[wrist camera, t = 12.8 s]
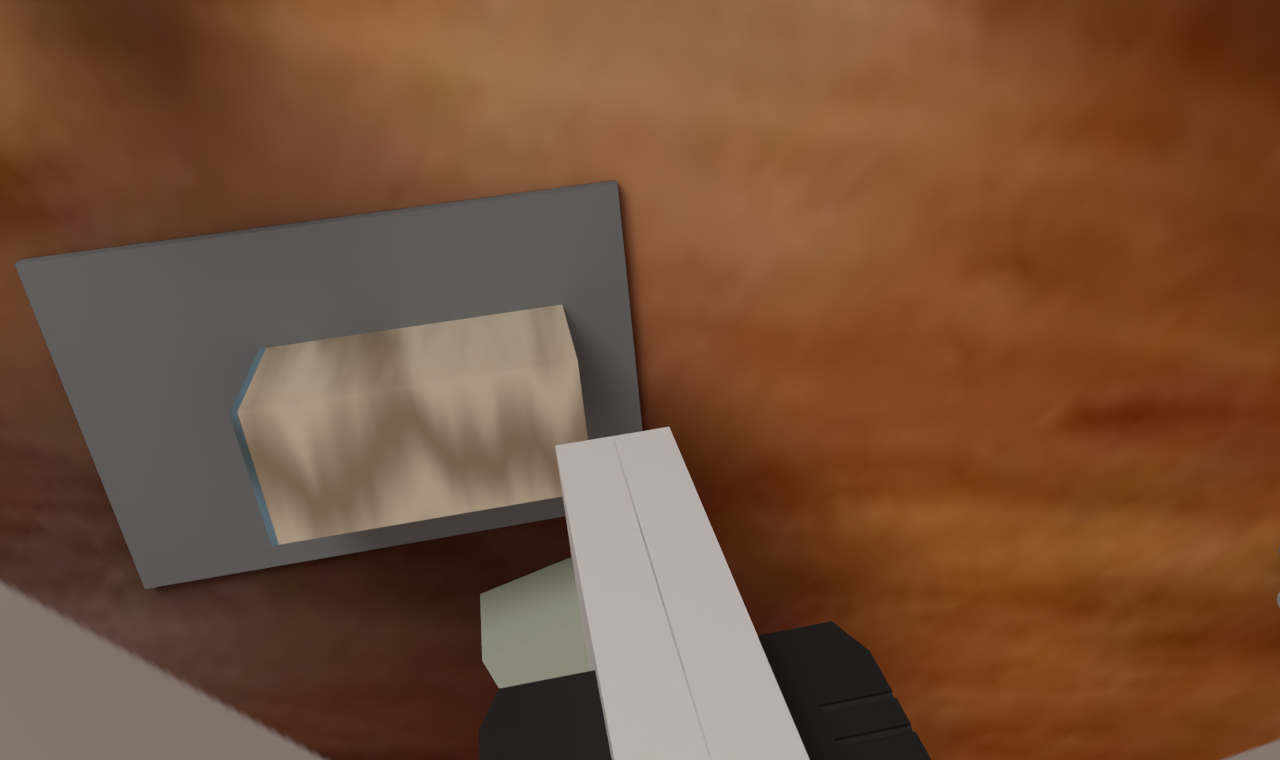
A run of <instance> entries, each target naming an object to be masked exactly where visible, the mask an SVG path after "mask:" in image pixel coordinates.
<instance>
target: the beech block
mask: <svg viewBox="0 0 1280 760" xmlns="http://www.w3.org/2000/svg"><path fill="white" fill-rule="evenodd" d="M229 415H230V418H231V421H232V425H233V428H234V431H235V434H236V437H237V440H238V443H239V447H240V450H241V453H242V456H243V459H244V462H245V465H246V468H247V472H248V475H249V478H250V481H251V484H252V487H253V490H254V494H255V497H256V500H257V503H258V506H259V509H260V512H261V515H262V519H263V522H264V525H265V528H266V531H267V534H268V537H269V541H270V544H271V546H275V545H281V544H286V543H292V542H298V541H304V540H310V539H316V538H322V537H328V536H333V535H339V534H345V533H351V532H357V531H363V530H369V529H374V528H380V527H386V526H392V525H398V524H404V523H410V522H416V521H421V520H427V519H433V518H439V517H445V516H451V515H457V514H463V513H468V512H474V511H480V510H486V509H492V508H498V507H504V506H510V505H515V504H521V503H527V502H533V501H539V500H545V499H551V498H557V497H562V496H563V495H562V488H561V482H560V475H559V468H558V462H557V455H556V448H555V446H556V445H562V444H568V443H574V442H580V441H586V440H588V436H587V428H586V421H585V413H584V405H583V398H582V390H581V382H580V375H579V367H578V360H577V356H576V352H575V349H574V345H573V342H572V338H571V334H570V331H569V327H568V324H567V320H566V316H565V313H564V309H563V305H555V306H548V307H541V308H534V309H528V310H521V311H514V312H507V313H500V314H494V315H487V316H480V317H473V318H467V319H460V320H453V321H446V322H439V323H433V324H426V325H419V326H412V327H405V328H399V329H392V330H385V331H378V332H371V333H365V334H358V335H351V336H344V337H337V338H331V339H324V340H317V341H310V342H303V343H297V344H290V345H283V346H276V347H269V348H263V349H259V350H258V352H257V354H256V356H255V358H254V361H253V363H252V365H251V367H250V369H249V371H248V374H247V376H246V378H245V380H244V382H243V384H242V386H241V389H240V391H239V393H238V395H237V397H236V399H235V402H234V404H233V406H232V408H231V410H230V412H229Z"/></svg>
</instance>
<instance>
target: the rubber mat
mask: <svg viewBox="0 0 1280 760" xmlns="http://www.w3.org/2000/svg"><path fill="white" fill-rule="evenodd" d="M15 266H16V269H17V271H18V274H19V276H20V279H21V281H22V284H23V286H24V289H25V291H26V294H27V296H28V299H29V301H30V304H31V306H32V309H33V311H34V314H35V316H36V319H37V321H38V324H39V326H40V329H41V331H42V333H43V336H44V338H45V341H46V343H47V346H48V348H49V351H50V353H51V356H52V358H53V361H54V363H55V366H56V368H57V371H58V373H59V376H60V378H61V381H62V383H63V386H64V388H65V391H66V393H67V396H68V398H69V401H70V403H71V406H72V408H73V411H74V413H75V416H76V418H77V421H78V423H79V426H80V428H81V431H82V433H83V436H84V438H85V441H86V443H87V446H88V448H89V451H90V453H91V456H92V458H93V461H94V463H95V466H96V468H97V471H98V473H99V476H100V478H101V481H102V483H103V486H104V488H105V491H106V493H107V496H108V498H109V501H110V503H111V506H112V508H113V511H114V513H115V516H116V518H117V520H118V523H119V525H120V528H121V530H122V533H123V535H124V538H125V540H126V543H127V545H128V548H129V550H130V553H131V555H132V558H133V560H134V563H135V565H136V568H137V570H138V573H139V575H140V578H141V580H142V583H143V585H144V588H145V589H148V588H154V587H160V586H165V585H171V584H177V583H183V582H188V581H194V580H200V579H206V578H212V577H217V576H223V575H229V574H235V573H240V572H246V571H252V570H258V569H264V568H269V567H275V566H281V565H287V564H292V563H298V562H304V561H310V560H316V559H321V558H327V557H333V556H339V555H345V554H350V553H356V552H362V551H368V550H373V549H379V548H385V547H391V546H397V545H402V544H408V543H414V542H420V541H425V540H431V539H437V538H443V537H449V536H454V535H460V534H466V533H472V532H477V531H483V530H489V529H495V528H501V527H506V526H512V525H518V524H524V523H529V522H535V521H541V520H547V519H553V518H558V517H564V516H566V515H565V509H564V502H563V496H562V497H557V498H551V499H545V500H539V501H533V502H527V503H521V504H515V505H510V506H504V507H498V508H492V509H486V510H480V511H474V512H468V513H463V514H457V515H451V516H445V517H439V518H433V519H427V520H421V521H416V522H410V523H404V524H398V525H392V526H386V527H380V528H374V529H369V530H363V531H357V532H351V533H345V534H339V535H333V536H328V537H322V538H316V539H310V540H304V541H298V542H292V543H286V544H281V545H275V546H271V544H270V541H269V537H268V534H267V531H266V528H265V525H264V522H263V519H262V515H261V512H260V509H259V506H258V503H257V500H256V497H255V494H254V490H253V487H252V484H251V481H250V478H249V475H248V472H247V468H246V465H245V462H244V459H243V456H242V453H241V450H240V447H239V443H238V440H237V437H236V434H235V431H234V428H233V425H232V421H231V418H230V415H229V412H230V410H231V408H232V406H233V404H234V402H235V399H236V397H237V395H238V393H239V391H240V389H241V386H242V384H243V382H244V380H245V378H246V376H247V374H248V371H249V369H250V367H251V365H252V363H253V361H254V358H255V356H256V354H257V352H258V350H259V349H263V348H269V347H276V346H283V345H290V344H297V343H303V342H310V341H317V340H324V339H331V338H337V337H344V336H351V335H358V334H365V333H371V332H378V331H385V330H392V329H399V328H405V327H412V326H419V325H426V324H433V323H439V322H446V321H453V320H460V319H467V318H473V317H480V316H487V315H494V314H500V313H507V312H514V311H521V310H528V309H534V308H541V307H548V306H555V305H563V309H564V313H565V316H566V320H567V324H568V327H569V331H570V334H571V338H572V342H573V345H574V349H575V352H576V356H577V360H578V367H579V375H580V382H581V390H582V398H583V405H584V413H585V421H586V428H587V436H588V440H592V439H598V438H604V437H610V436H617V435H623V434H629V433H635V432H641V431H643V430H642V420H641V410H640V400H639V390H638V381H637V371H636V361H635V351H634V341H633V331H632V322H631V312H630V302H629V292H628V282H627V272H626V262H625V253H624V243H623V233H622V223H621V213H620V203H619V193H618V184H617V182H616V180H614V181H607V182H599V183H592V184H584V185H577V186H569V187H562V188H554V189H547V190H539V191H532V192H524V193H517V194H509V195H502V196H494V197H487V198H479V199H472V200H464V201H457V202H449V203H442V204H434V205H427V206H419V207H412V208H404V209H397V210H389V211H382V212H374V213H367V214H359V215H352V216H344V217H337V218H329V219H322V220H314V221H307V222H299V223H292V224H284V225H277V226H269V227H262V228H254V229H247V230H239V231H232V232H224V233H217V234H209V235H202V236H194V237H187V238H179V239H172V240H164V241H157V242H149V243H142V244H134V245H127V246H119V247H112V248H104V249H97V250H89V251H82V252H74V253H67V254H59V255H52V256H44V257H37V258H29V259H22V260H20V261H18V262H17V263H16V264H15Z"/></svg>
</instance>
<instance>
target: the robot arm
mask: <svg viewBox="0 0 1280 760" xmlns="http://www.w3.org/2000/svg"><path fill="white" fill-rule="evenodd" d="M555 448H556V455H557V462H558V468H559V475H560V482H561V488H562V495H563V502H564V509H565V515H566V522H567V529H568V535H569V542H570V549H571V555H572V562H573V569H574V575H575V582H576V589H577V596H578V602H579V609H580V615H581V621H582V626H583V632H584V637H585V643H586V649H587V654H588V660H589V665H590V671H588V672H583V673H577V674H572V675H567V676H562V677H557V678H551V679H546V680H541V681H536V682H531V683H525V684H520V685H515V686H510V687H505V688H499V689H498V691H497V693H496V695H495V697H494V699H493V702H492V704H491V706H490V708H489V710H488V712H487V715H486V717H485V719H484V721H483V723H482V726H481V728H480V730H479V752H480V760H931V758H930V757H929V755H928V753H927V751H926V750H925V748H924V746H923V744H922V743H921V741H920V739H919V737H918V736H917V734H916V732H913V731H912V729H911V724H910V721H909V720H908V718H907V716H906V714H905V713H904V711H903V709H902V707H901V706H900V704H899V702H898V700H897V698H894V697H893V695H892V690H891V688H890V686H889V684H888V683H887V681H886V679H885V677H884V676H883V674H882V672H881V670H880V669H879V667H878V665H877V663H876V661H875V660H874V658H873V656H872V654H871V653H870V651H869V650H868V649H866V648H865V647H864V646H862V645H861V644H860V643H859V642H857V641H856V640H855V639H854V638H852V637H851V636H850V635H848V634H847V633H846V632H845V631H843V630H842V629H841V628H840V627H838V626H837V625H836V624H834V623H833V622H827V623H821V624H816V625H811V626H806V627H801V628H795V629H790V630H785V631H780V632H775V633H769V634H764V635H759V636H757V634H756V631H755V629H754V626H753V624H752V622H751V619H750V617H749V615H748V612H747V610H746V608H745V605H744V603H743V600H742V598H741V596H740V593H739V591H738V589H737V586H736V584H735V581H734V579H733V577H732V574H731V572H730V570H729V567H728V565H727V563H726V560H725V558H724V555H723V553H722V551H721V548H720V546H719V544H718V541H717V539H716V536H715V534H714V532H713V529H712V527H711V525H710V522H709V520H708V517H707V515H706V513H705V510H704V508H703V506H702V503H701V501H700V499H699V496H698V494H697V491H696V489H695V487H694V484H693V482H692V480H691V477H690V475H689V472H688V470H687V468H686V465H685V463H684V461H683V458H682V456H681V454H680V451H679V449H678V446H677V444H676V442H675V439H674V437H673V435H672V432H671V430H670V427H665V428H659V429H653V430H647V431H641V432H635V433H629V434H623V435H617V436H610V437H604V438H598V439H592V440H586V441H580V442H574V443H568V444H562V445H556V446H555Z"/></svg>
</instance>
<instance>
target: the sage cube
mask: <svg viewBox="0 0 1280 760" xmlns="http://www.w3.org/2000/svg"><path fill="white" fill-rule="evenodd" d="M480 603H481V635H482V661H483V663H484V664H485V666H486V668H487V669H488V671H489V673H490V674H491V676H492V677H493V679H494V681H495V682H496V684H497V686H498V687H499V688H505V687H510V686H515V685H520V684H525V683H531V682H536V681H541V680H546V679H551V678H557V677H562V676H567V675H572V674H577V673H583V672H588V671H590V665H589V660H588V654H587V649H586V643H585V637H584V632H583V626H582V621H581V615H580V609H579V602H578V596H577V589H576V582H575V575H574V569H573V562H572V558H571V557H570V558H568V559H565V560H563V561H560V562H558V563H555V564H553V565H551V566H548V567H546V568H543V569H541V570H538V571H536V572H534V573H531V574H529V575H526V576H524V577H521V578H519V579H516V580H514V581H512V582H509V583H507V584H504V585H502V586H499V587H497V588H494V589H492V590H490V591H487V592H485V593H482V594H480Z"/></svg>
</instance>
